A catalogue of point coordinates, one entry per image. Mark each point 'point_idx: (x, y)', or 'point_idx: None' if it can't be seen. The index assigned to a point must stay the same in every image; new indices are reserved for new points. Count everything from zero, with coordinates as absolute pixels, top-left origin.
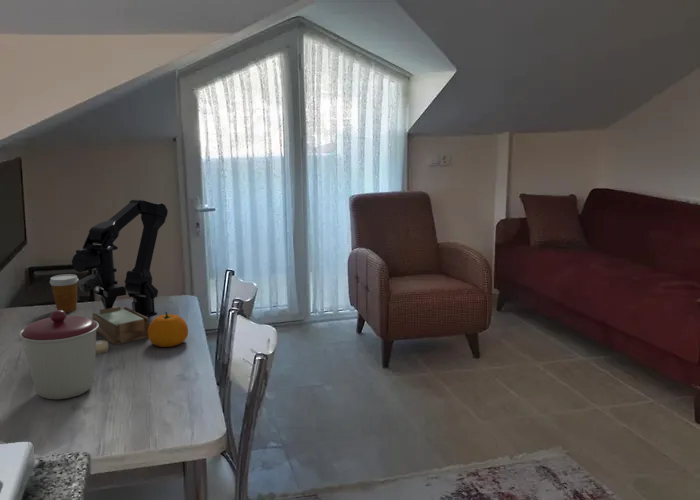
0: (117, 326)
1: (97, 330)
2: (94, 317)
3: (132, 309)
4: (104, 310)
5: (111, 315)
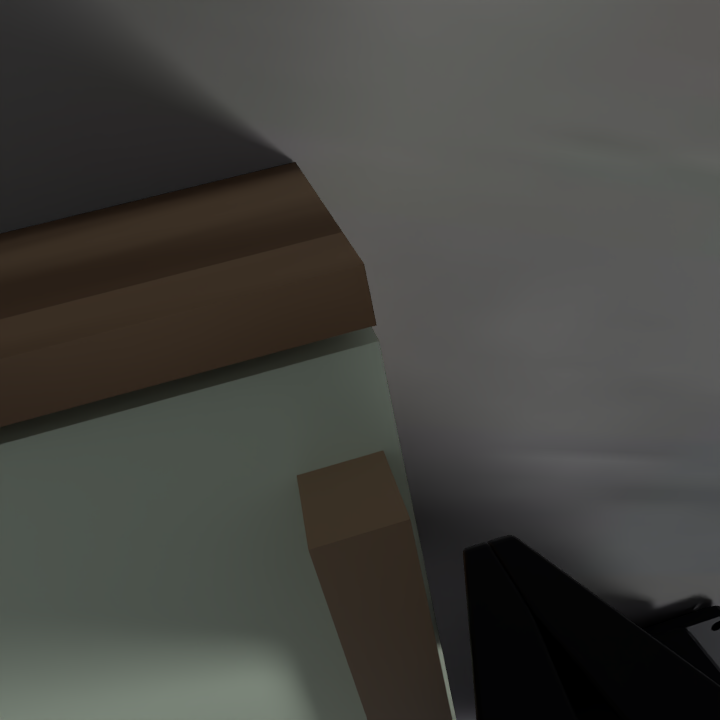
0: None
1: (106, 221)
2: (189, 275)
3: (710, 669)
4: (333, 611)
5: (11, 679)
